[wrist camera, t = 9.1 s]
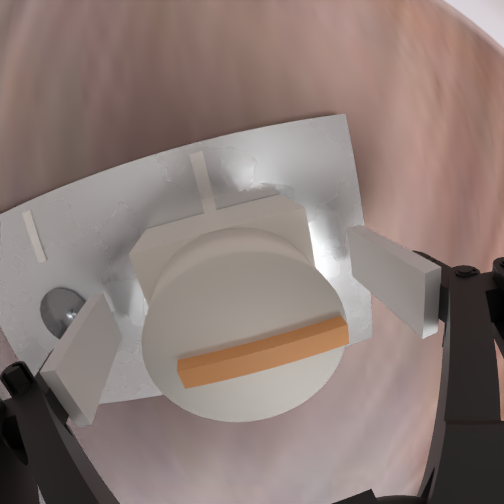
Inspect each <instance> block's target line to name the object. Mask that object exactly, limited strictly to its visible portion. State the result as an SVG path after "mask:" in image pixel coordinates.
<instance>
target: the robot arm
mask: <svg viewBox="0 0 504 504" xmlns="http://www.w3.org/2000/svg"><path fill="white" fill-rule="evenodd" d="M347 235H348V243H349V251H350V259H351V268H352V276H353V277H354V278H355V279H356V280H357V281H358V282H359V283H361V284H362V285H363V286H364V287H365V288H366V289H367V290H369V291H370V292H371V293H372V294H373V295H374V296H375V297H376V298H378V299H379V300H380V301H381V302H382V303H383V304H384V305H385V306H387V307H388V308H389V309H390V310H391V311H392V312H393V313H394V314H395V315H397V316H398V317H399V318H400V319H401V320H402V321H403V322H404V323H405V324H406V325H408V326H409V327H410V328H411V329H412V330H413V331H414V332H415V333H416V334H417V335H418V336H420V337H421V338H422V339H424V338H426V337H428V336H430V335H432V334H434V333H436V332H437V331H438V321H439V319H440V320H442V321H443V322H444V323H445V327H444V335H443V343H442V347H443V359H442V371H441V382H440V391H439V399H438V406H437V413H436V419H435V425H434V431H433V436H432V442H431V447H430V451H429V456H428V461H427V465H426V469H425V473H424V477H423V480H422V483H421V486H420V489H419V492H418V495H417V497H416V496H406V495H393V496H383V497H378V498H376V497H375V495H374V493H373V491H372V489H370V490H367V491H365V492H362V493H360V494H357V495H355V496H352V497H349V498H347V499H344V500H341V501H338V502H335V503H332V504H504V421H501V418H500V394H499V379H498V368H497V359H496V351H495V343H494V339H495V341H496V343H497V345H498V347H499V349H500V352H501V354H502V356H503V358H504V257H501V258H497V259H495V260H494V262H493V269H492V272H487V273H482V274H481V273H480V271H479V270H478V269H476V268H475V267H471V266H465V265H462V266H456V267H453V268H451V267H449V266H448V265H446V264H444V263H442V262H440V261H438V260H436V259H434V258H433V257H431V256H429V255H427V254H425V253H423V252H418V251H414V250H413V251H411V250H409V249H407V248H405V247H403V246H401V245H399V244H397V243H395V242H394V241H392V240H390V239H388V238H386V237H384V236H382V235H380V234H378V233H376V232H374V231H372V230H370V229H368V228H366V227H364V226H362V225H360V224H359V225H356V226H352V227H348V228H347ZM122 338H123V336H122V334H121V332H120V330H119V328H118V326H117V323H116V321H115V319H114V317H113V314H112V312H111V310H110V307H109V305H108V303H107V300H106V298H105V295H104V293H103V292H101V293H97V294H94V295H91V296H90V297H89V298H88V300H87V301H86V303H85V304H84V305H83V307H82V308H81V310H80V311H79V313H78V314H77V315H76V317H75V318H74V320H73V321H72V323H71V324H70V326H69V327H68V329H67V330H66V332H65V333H64V335H63V336H62V338H61V339H60V341H59V342H58V344H57V345H56V347H55V348H54V349H53V350H52V351H51V352H50V353H49V355H48V356H47V358H46V360H45V361H44V363H43V365H42V366H41V367H40V369H39V371H38V372H37V374H36V375H35V377H34V376H33V374H32V373H31V371H30V369H29V368H28V366H27V364H26V363H25V362H24V361H19V362H15V363H13V364H11V365H10V366H8V367H7V368H6V369H5V370H4V371H3V372H2V373H1V375H0V380H1V381H2V383H3V384H4V386H5V387H6V389H7V390H8V392H9V393H10V395H11V396H12V398H10V399H7V400H4V401H3V400H2V399H1V397H0V504H40V502H39V495H38V487H37V484H38V486H39V489H40V491H41V494H42V496H43V498H44V501H45V503H46V504H120V503H119V502H118V500H117V499H116V498H115V496H114V495H113V494H112V492H111V491H110V490H109V488H108V487H107V486H106V484H105V483H104V481H103V480H102V478H101V477H100V475H99V474H98V473H97V471H96V470H95V468H94V466H93V465H92V463H91V462H90V460H89V459H88V457H87V456H86V454H85V452H84V451H83V449H82V447H81V446H80V444H79V442H78V441H77V439H76V437H75V435H74V434H73V432H72V430H71V429H70V427H69V426H68V425H67V423H66V421H67V419H68V416H69V417H70V418H71V420H72V421H73V422H74V424H75V425H76V426H89V425H92V424H93V420H94V417H95V414H96V411H97V408H98V405H99V402H100V399H101V396H102V393H103V390H104V387H105V384H106V381H107V378H108V375H109V373H110V370H111V367H112V364H113V362H114V359H115V356H116V353H117V351H118V348H119V345H120V343H121V340H122Z"/></svg>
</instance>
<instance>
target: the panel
mask: <svg viewBox="0 0 504 504" xmlns="http://www.w3.org/2000/svg"><path fill="white" fill-rule="evenodd" d="M278 194H282V195H284V196H286V197H288V198H289V199H291V200H293V201H295V202H296V203H298V204H300V205H302V206H303V207H305V208H306V214H307V219H308V225H309V231H310V236H311V242H312V248H313V254H314V261H315V267H316V269H317V270H318V271H319V272H320V273H321V274H322V275H323V276H324V277H325V278H326V279H327V281H328V282H329V283H330V284H331V285H332V287H333V288H334V289H335V291H336V292H337V294H338V296H339V298H340V300H341V301H342V304H343V307H344V310H345V314H346V320H347V324H348V332H349V344H347V345H345V347H347V346H349V345H352V344H355V343H358V342H360V341H363V340H366V339H369V338H371V337H372V311H371V293H370V291H369V290H367V289H366V288H365V287H364V286H363V285H362V284H361V283H359V282H358V281H357V280H356V279H355V278H354V277H353V276H352V268H351V259H350V251H349V243H348V235H347V228H348V227H352V226H356V225H359V224H360V225H362V226H364V220H363V212H362V204H361V197H360V191H359V184H358V178H357V172H356V166H355V160H354V154H353V149H352V144H351V139H350V134H349V129H348V124H347V119H346V114H339V115H331V116H324V117H317V118H311V119H305V120H299V121H293V122H287V123H281V124H276V125H271V126H266V127H261V128H256V129H251V130H246V131H242V132H237V133H233V134H228V135H224V136H220V137H216V138H212V139H208V140H204V141H200V142H196V143H192V144H188V145H185V146H181V147H177V148H174V149H170V150H167V151H163V152H160V153H157V154H153V155H150V156H147V157H144V158H140V159H137V160H134V161H131V162H128V163H125V164H122V165H119V166H116V167H113V168H110V169H108V170H105V171H102V172H99V173H96V174H94V175H91V176H88V177H86V178H83V179H80V180H78V181H75V182H73V183H70V184H67V185H65V186H62V187H60V188H58V189H55V190H53V191H50V192H48V193H46V194H43V195H41V196H39V197H36V198H34V199H32V200H30V201H27V202H25V203H23V204H21V205H19V206H16V207H14V208H12V209H10V210H8V211H6V212H4V213H2V214H0V327H1V329H2V331H3V332H4V334H5V336H6V338H7V340H8V342H9V344H10V346H11V347H12V349H13V351H14V353H15V355H16V356H17V358H18V360H19V361H24V362H25V363H26V364H27V366H28V368H29V369H30V371H31V373H32V374H33V376H34V377H35V375H36V374H37V372H38V371H39V369H40V367H41V366H42V365H43V363H44V361H45V360H46V358H47V356H48V355H49V353H50V352H51V351H52V350H53V349H54V348H55V347H56V345H57V344H58V342H59V341H60V339H61V338H62V336H63V335H64V333H65V332H66V330H67V329H68V327H69V326H70V324H71V323H72V321H73V320H74V318H75V317H76V315H77V314H78V313H79V311H80V310H81V308H82V307H83V305H84V304H85V303H86V301H87V300H88V298H89V297H90V296H91V295H94V294H97V293H101V292H103V293H104V295H105V298H106V300H107V303H108V305H109V307H110V310H111V312H112V314H113V317H114V319H115V321H116V323H117V326H118V328H119V330H120V332H121V334H122V336H123V338H122V340H121V343H120V345H119V348H118V351H117V353H116V356H115V359H114V362H113V364H112V367H111V370H110V373H109V375H108V378H107V381H106V384H105V387H104V390H103V393H102V396H101V399H100V402H99V404H105V403H113V402H120V401H128V400H135V399H141V398H148V397H154V396H160V395H164V394H163V393H162V392H161V391H160V390H159V389H158V388H157V386H156V385H155V384H154V382H153V381H152V379H151V377H150V376H149V374H148V371H147V369H146V367H145V364H144V360H143V356H142V347H141V339H142V330H143V326H144V322H145V318H146V315H147V311H148V308H149V307H148V305H147V302H146V300H145V297H144V295H143V292H142V290H141V287H140V284H139V282H138V279H137V276H136V274H135V271H134V268H133V265H132V262H131V260H130V257H129V253H130V252H131V250H132V249H133V247H134V246H135V244H136V243H137V241H138V240H139V239H140V237H141V236H142V234H143V233H144V231H145V230H146V229H149V228H152V227H156V226H159V225H163V224H166V223H170V222H174V221H177V220H181V219H184V218H188V217H192V216H195V215H199V214H203V213H207V212H210V211H214V210H218V209H222V208H226V207H230V206H233V205H237V204H241V203H245V202H249V201H253V200H257V199H262V198H266V197H270V196H274V195H278Z"/></svg>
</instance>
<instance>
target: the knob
mask: <svg viewBox="0 0 504 504" xmlns="http://www.w3.org/2000/svg"><path fill="white" fill-rule="evenodd" d="M129 257H130V260H131V262H132V265H133V268H134V271H135V274H136V276H137V279H138V282H139V284H140V287H141V290H142V292H143V295H144V297H145V300H146V302H147V305H148V307H149V308H148V311H147V315H146V318H145V322H144V326H143V330H142V339H141V347H142V356H143V360H144V364H145V367H146V369H147V371H148V374H149V376H150V377H151V379H152V381H153V382H154V384H155V385H156V386H157V388H158V389H159V390H160V391H161V392H162V393H163V394H164V395H165V396H166V397H167V398H168V399H169V400H170V401H172V402H173V403H175V404H176V405H177V406H179V407H181V408H182V409H184V410H186V411H188V412H190V413H193V414H195V415H198V416H200V417H204V418H207V419H211V420H217V421H223V422H249V421H257V420H262V419H267V418H270V417H273V416H277V415H280V414H282V413H284V412H287V411H289V410H291V409H293V408H295V407H297V406H298V405H300V404H302V403H303V402H305V401H306V400H308V399H309V398H310V397H312V396H313V395H314V394H315V393H316V392H318V391H319V390H320V389H321V388H322V387H323V385H324V384H325V383H326V382H327V381H328V380H329V378H330V377H331V376H332V374H333V373H334V371H335V370H336V368H337V366H338V364H339V362H340V360H341V358H342V355H343V352H344V349H345V345H347V344H349V332H348V324H347V320H346V314H345V310H344V307H343V304H342V301H341V300H340V298H339V296H338V294H337V292H336V291H335V289H334V288H333V287H332V285H331V284H330V283H329V282H328V281H327V279H326V278H325V277H324V276H323V275H322V274H321V273H320V272H319V271H318V270H317V269H316V267H315V261H314V254H313V248H312V242H311V236H310V231H309V225H308V219H307V214H306V208H305V207H303V206H302V205H300V204H298V203H296V202H295V201H293V200H291V199H289V198H288V197H286V196H284V195H282V194H278V195H274V196H270V197H266V198H262V199H257V200H253V201H249V202H245V203H241V204H237V205H233V206H230V207H226V208H222V209H218V210H214V211H210V212H207V213H203V214H199V215H195V216H192V217H188V218H184V219H181V220H177V221H174V222H170V223H166V224H163V225H159V226H156V227H152V228H149V229H146V230H145V231H144V233H143V234H142V236H141V237H140V239H139V240H138V241H137V243H136V244H135V246H134V247H133V249H132V250H131V252H130V253H129Z"/></svg>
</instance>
